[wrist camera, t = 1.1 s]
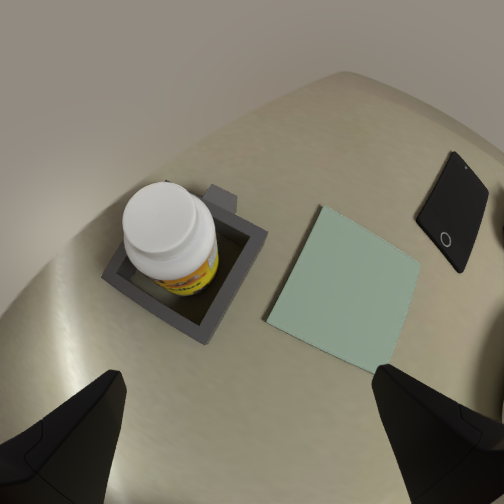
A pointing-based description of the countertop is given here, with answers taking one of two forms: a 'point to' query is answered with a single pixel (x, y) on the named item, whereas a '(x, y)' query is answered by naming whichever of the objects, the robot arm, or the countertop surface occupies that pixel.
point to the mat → (347, 292)
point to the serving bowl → (503, 414)
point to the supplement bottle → (171, 238)
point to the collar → (253, 241)
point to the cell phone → (454, 211)
